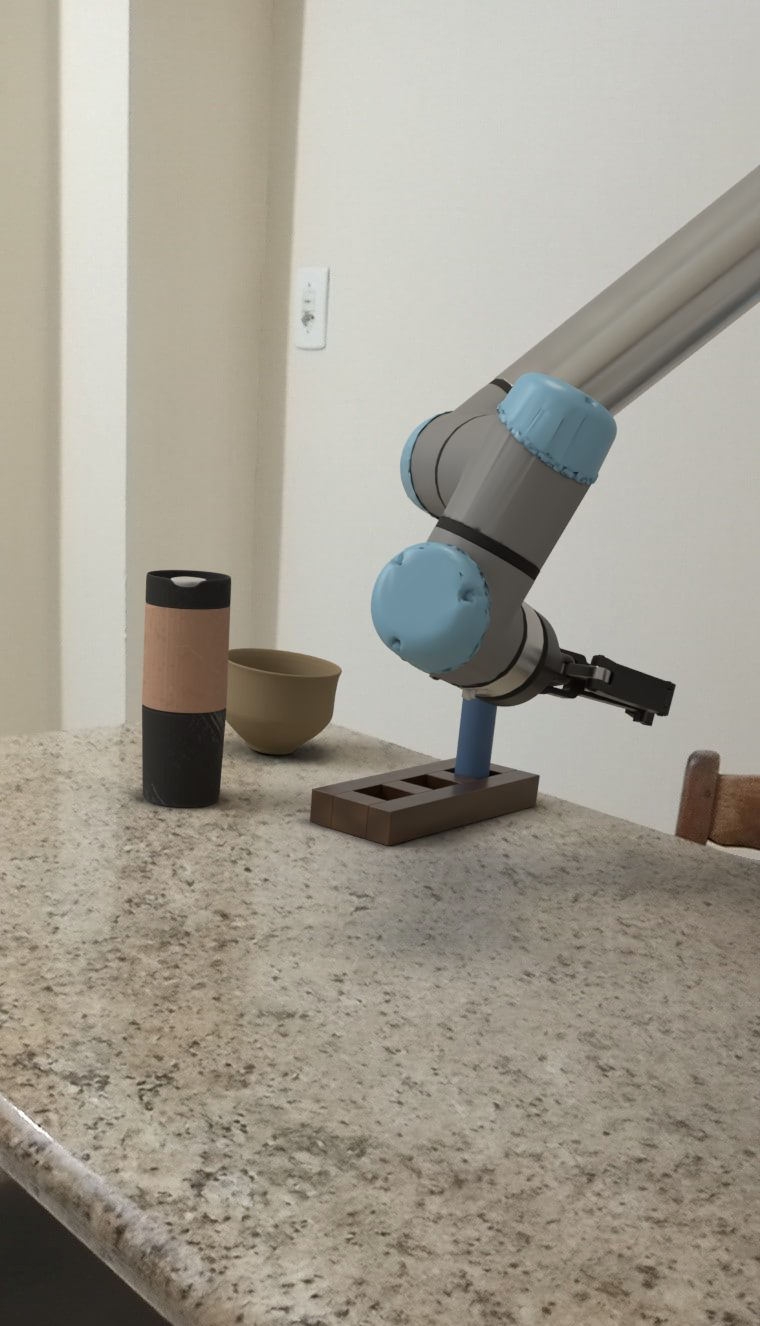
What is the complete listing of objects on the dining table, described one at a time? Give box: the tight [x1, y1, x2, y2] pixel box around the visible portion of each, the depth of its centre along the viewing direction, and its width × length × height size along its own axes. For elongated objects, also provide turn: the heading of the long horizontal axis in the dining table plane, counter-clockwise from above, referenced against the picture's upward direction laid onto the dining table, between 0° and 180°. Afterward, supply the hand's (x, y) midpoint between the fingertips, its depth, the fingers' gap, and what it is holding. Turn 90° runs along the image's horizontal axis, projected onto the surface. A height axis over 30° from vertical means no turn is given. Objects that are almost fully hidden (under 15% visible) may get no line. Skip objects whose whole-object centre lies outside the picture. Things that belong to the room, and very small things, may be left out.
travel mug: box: [141, 569, 232, 808], centre depth 124 cm, size 8×8×20 cm
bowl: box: [225, 647, 343, 756], centre depth 144 cm, size 13×13×10 cm
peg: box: [454, 697, 498, 780], centre depth 128 cm, size 3×3×14 cm
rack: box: [309, 757, 541, 846], centre depth 125 cm, size 9×22×3 cm, turn 134°
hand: (573, 697), depth 118 cm, fingers open, 13 cm apart
